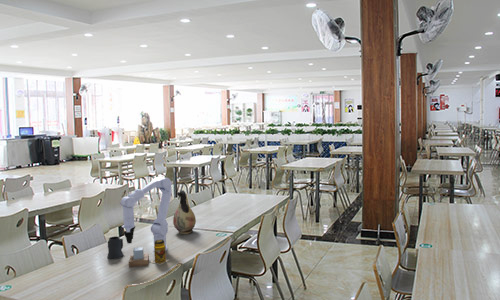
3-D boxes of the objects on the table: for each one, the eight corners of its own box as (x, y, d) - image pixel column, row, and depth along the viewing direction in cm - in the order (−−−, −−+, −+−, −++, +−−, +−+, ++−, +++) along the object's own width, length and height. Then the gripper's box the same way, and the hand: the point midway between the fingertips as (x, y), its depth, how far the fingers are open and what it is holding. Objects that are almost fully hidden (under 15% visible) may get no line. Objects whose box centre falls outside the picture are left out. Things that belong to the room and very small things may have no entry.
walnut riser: (130, 260, 231) (130, 255, 231) (149, 258, 233) (148, 253, 233) (129, 267, 222) (128, 261, 221) (148, 265, 223) (147, 259, 223)
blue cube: (134, 256, 229) (133, 247, 229) (143, 255, 230) (143, 247, 230) (133, 259, 224) (133, 250, 224) (143, 258, 225) (142, 249, 225)
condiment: (160, 264, 224) (159, 243, 223) (149, 262, 228) (147, 241, 227) (169, 260, 230) (168, 239, 229) (158, 258, 234) (157, 237, 233)
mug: (118, 259, 234) (116, 240, 233) (103, 259, 236) (102, 239, 235) (129, 252, 245) (127, 234, 244) (115, 251, 247) (114, 233, 246)
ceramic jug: (171, 231, 287) (168, 189, 284) (192, 227, 293) (190, 186, 290) (177, 237, 271) (175, 193, 269) (199, 234, 278) (197, 190, 275)
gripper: (122, 215, 238) (124, 237, 240) (119, 221, 224) (121, 245, 226) (135, 214, 240) (136, 236, 241) (133, 220, 226) (134, 244, 227)
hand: (130, 241), depth 233 cm, fingers open, 7 cm apart
